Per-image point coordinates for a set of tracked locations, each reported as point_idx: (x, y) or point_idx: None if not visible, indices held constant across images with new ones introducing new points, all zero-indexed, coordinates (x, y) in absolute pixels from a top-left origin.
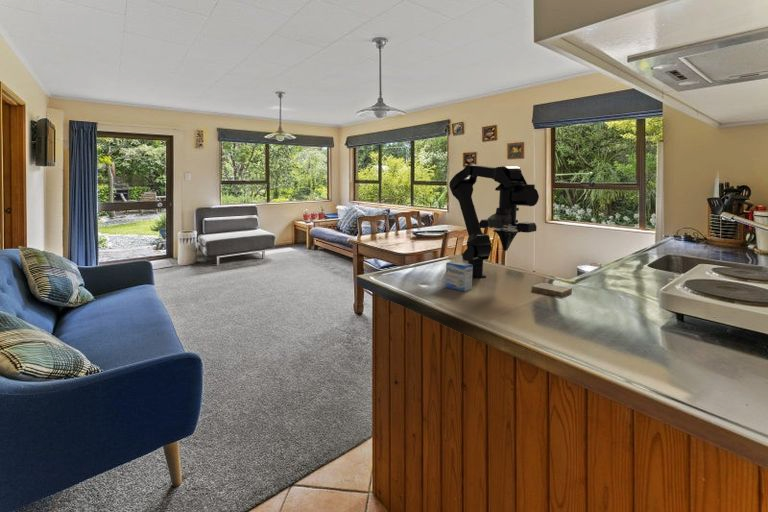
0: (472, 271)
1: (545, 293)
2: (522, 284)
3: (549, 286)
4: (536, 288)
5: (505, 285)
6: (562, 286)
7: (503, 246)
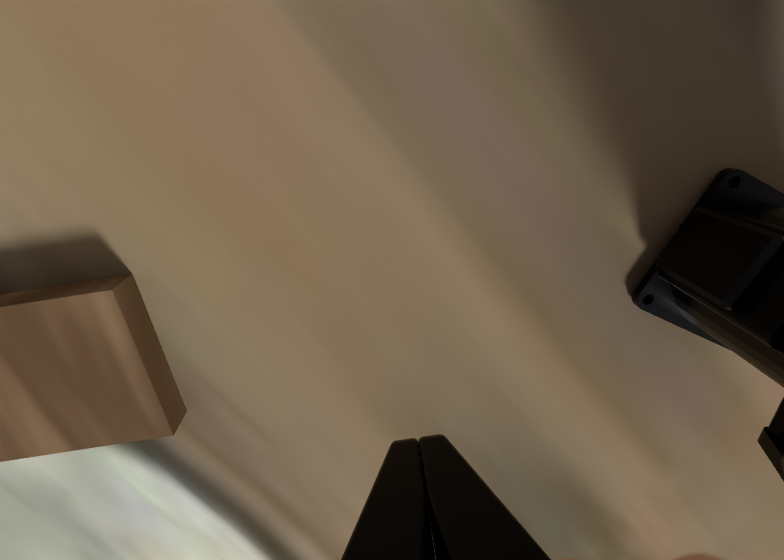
0: (763, 219)
1: (16, 292)
2: (312, 361)
3: (48, 389)
4: (77, 291)
5: (363, 233)
6: (15, 458)
7: (454, 492)
